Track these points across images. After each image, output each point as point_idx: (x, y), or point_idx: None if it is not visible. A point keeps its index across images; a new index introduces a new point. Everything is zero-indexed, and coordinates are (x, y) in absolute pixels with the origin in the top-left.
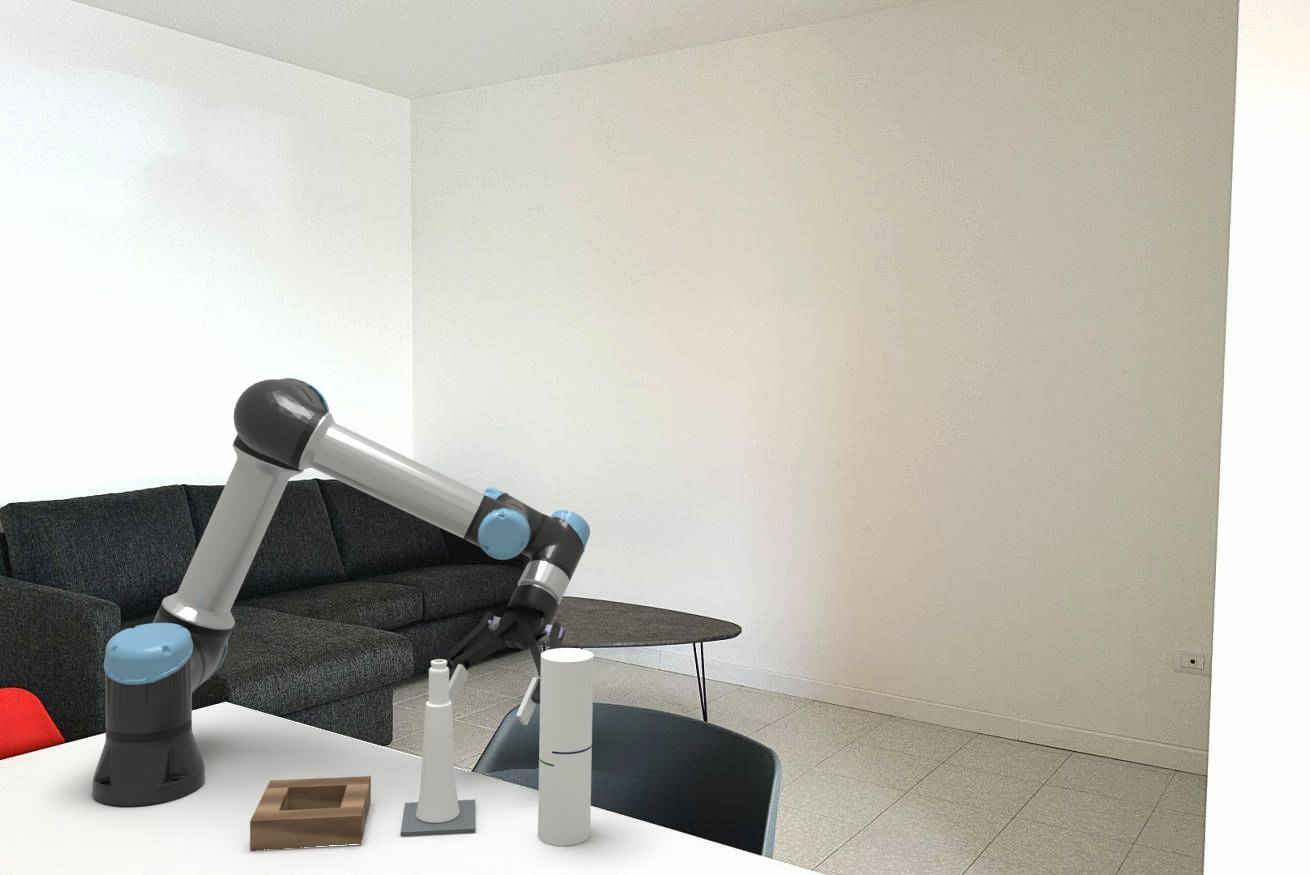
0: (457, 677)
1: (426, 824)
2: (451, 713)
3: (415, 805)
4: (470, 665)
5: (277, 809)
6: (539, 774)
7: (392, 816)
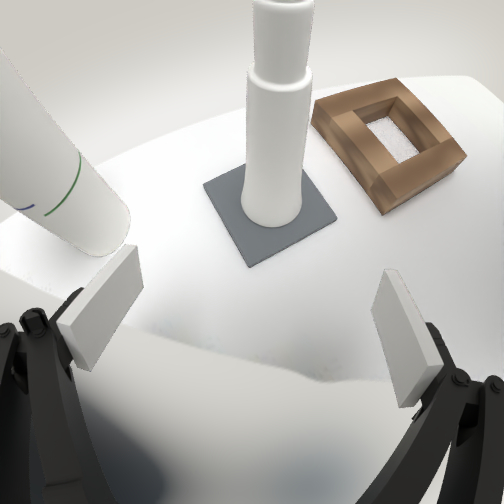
0: (409, 334)
1: None
2: (247, 92)
3: (319, 215)
4: (412, 424)
5: (400, 97)
6: (90, 165)
7: (331, 190)
